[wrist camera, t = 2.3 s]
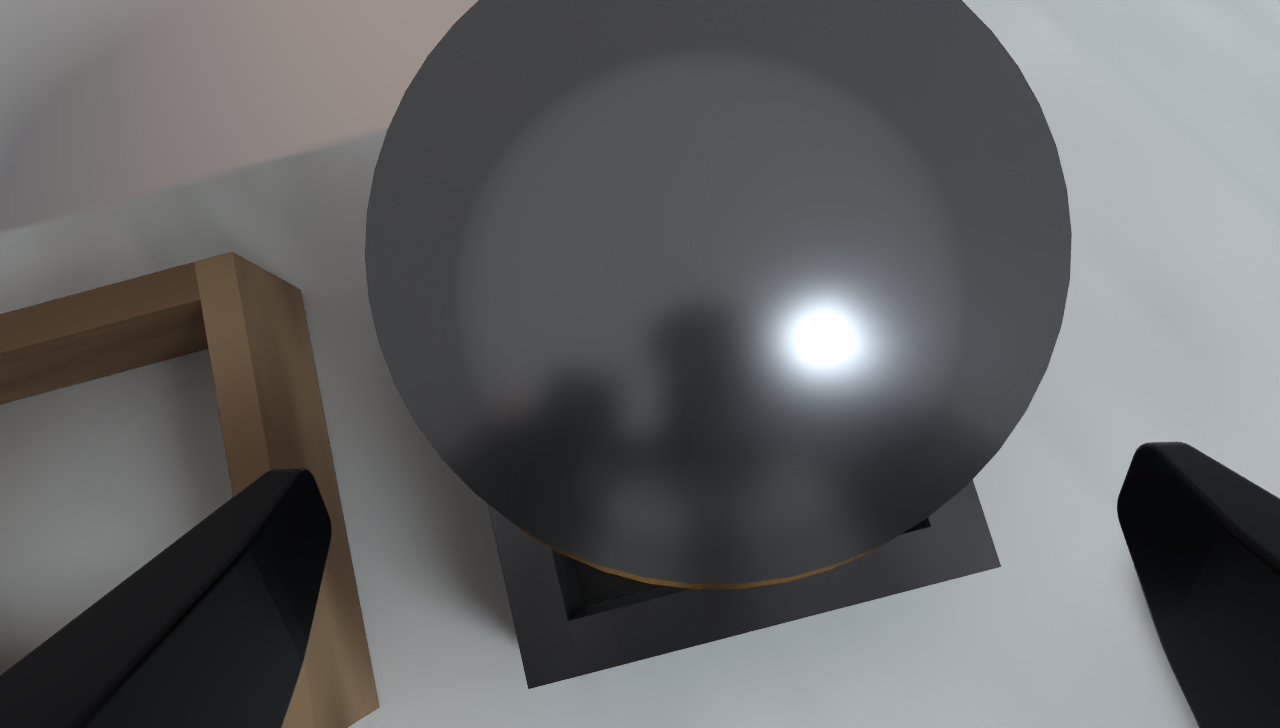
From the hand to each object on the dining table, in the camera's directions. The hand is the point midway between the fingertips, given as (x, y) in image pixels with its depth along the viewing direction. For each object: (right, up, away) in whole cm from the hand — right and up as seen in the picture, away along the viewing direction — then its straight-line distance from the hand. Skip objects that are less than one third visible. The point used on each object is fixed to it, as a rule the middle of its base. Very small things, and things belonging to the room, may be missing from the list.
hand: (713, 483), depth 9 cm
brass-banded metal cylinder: (+1, 0, +10) cm, 10 cm away
